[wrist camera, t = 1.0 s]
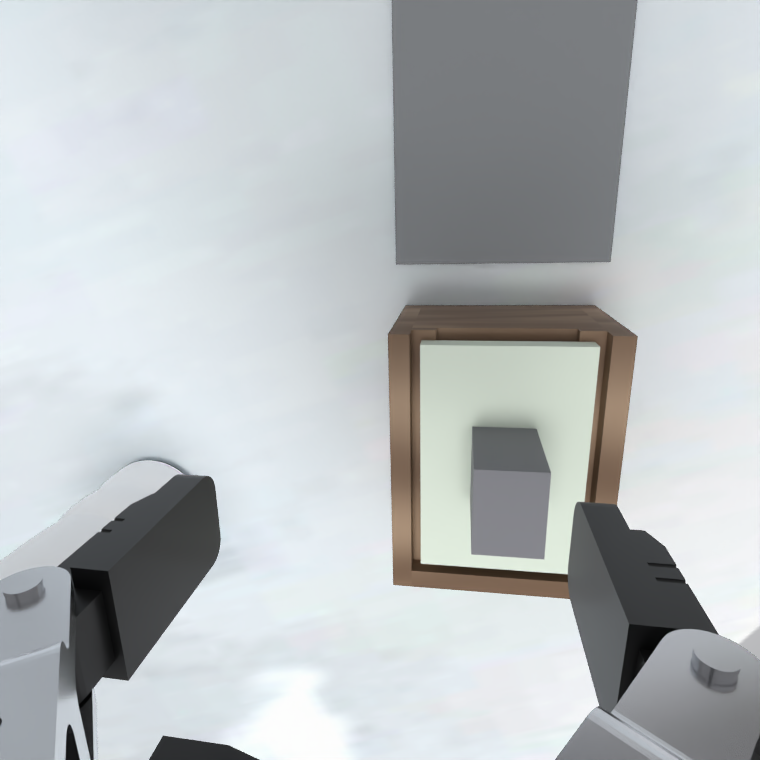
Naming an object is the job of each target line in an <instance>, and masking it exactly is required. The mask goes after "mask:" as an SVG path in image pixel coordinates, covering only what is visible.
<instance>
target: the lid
mask: <svg viewBox="0 0 760 760" xmlns="http://www.w3.org/2000/svg"><path fill="white" fill-rule="evenodd" d="M599 356H600V346H599V345H598V344H597V343H596V342H561V341H455V340H422V341H421V344H420V482H421V564H434V565H447V566H461V567H475V568H489V569H502V570H516V571H530V572H543V573H557V574H568V562H569V553H570V543H571V534H572V525H573V516H574V509H575V505H576V503H577V502H585V492H586V482H587V473H588V463H589V453H590V443H591V434H592V424H593V414H594V404H595V395H596V385H597V375H598V365H599Z"/></svg>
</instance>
